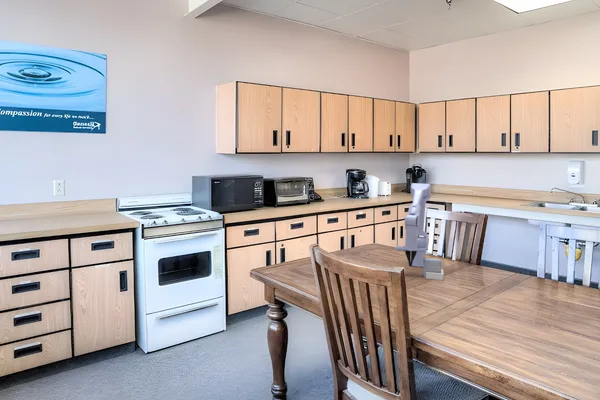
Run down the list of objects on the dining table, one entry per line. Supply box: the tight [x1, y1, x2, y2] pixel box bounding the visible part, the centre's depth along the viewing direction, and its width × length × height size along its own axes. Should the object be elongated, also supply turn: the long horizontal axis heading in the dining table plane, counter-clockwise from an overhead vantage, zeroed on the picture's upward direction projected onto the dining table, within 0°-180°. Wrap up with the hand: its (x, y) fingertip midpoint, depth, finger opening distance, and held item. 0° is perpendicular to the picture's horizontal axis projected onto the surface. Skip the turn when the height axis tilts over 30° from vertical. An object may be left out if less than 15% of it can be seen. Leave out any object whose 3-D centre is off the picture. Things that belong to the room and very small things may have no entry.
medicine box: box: [422, 257, 442, 279], centre depth 204 cm, size 8×4×9 cm, turn 84°
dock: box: [425, 268, 445, 281], centre depth 204 cm, size 9×8×3 cm
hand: (410, 265), depth 207 cm, fingers closed
